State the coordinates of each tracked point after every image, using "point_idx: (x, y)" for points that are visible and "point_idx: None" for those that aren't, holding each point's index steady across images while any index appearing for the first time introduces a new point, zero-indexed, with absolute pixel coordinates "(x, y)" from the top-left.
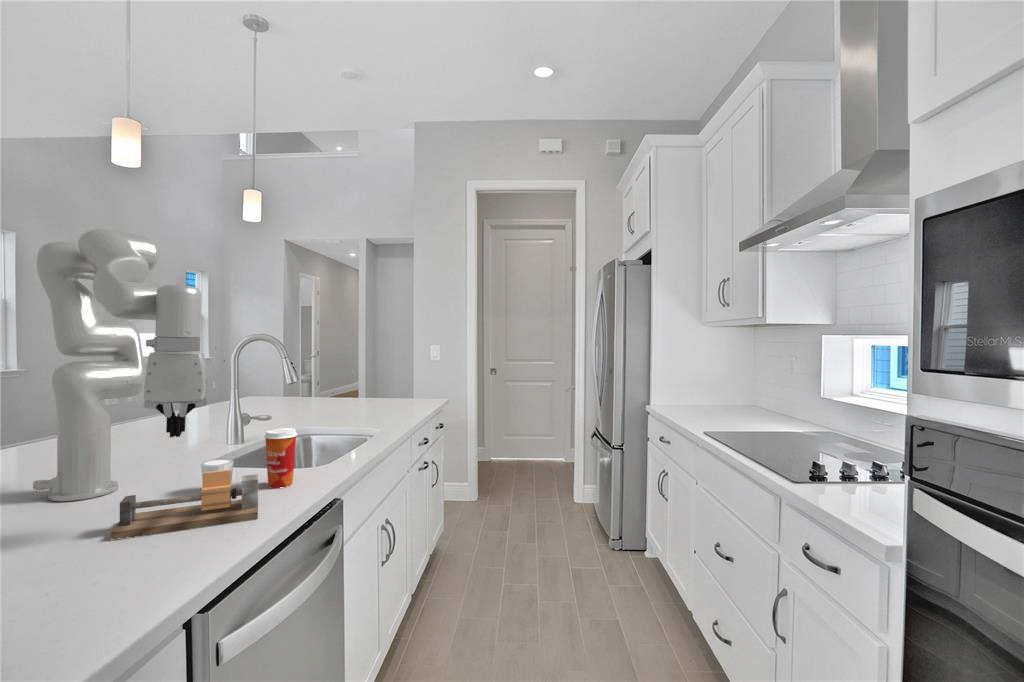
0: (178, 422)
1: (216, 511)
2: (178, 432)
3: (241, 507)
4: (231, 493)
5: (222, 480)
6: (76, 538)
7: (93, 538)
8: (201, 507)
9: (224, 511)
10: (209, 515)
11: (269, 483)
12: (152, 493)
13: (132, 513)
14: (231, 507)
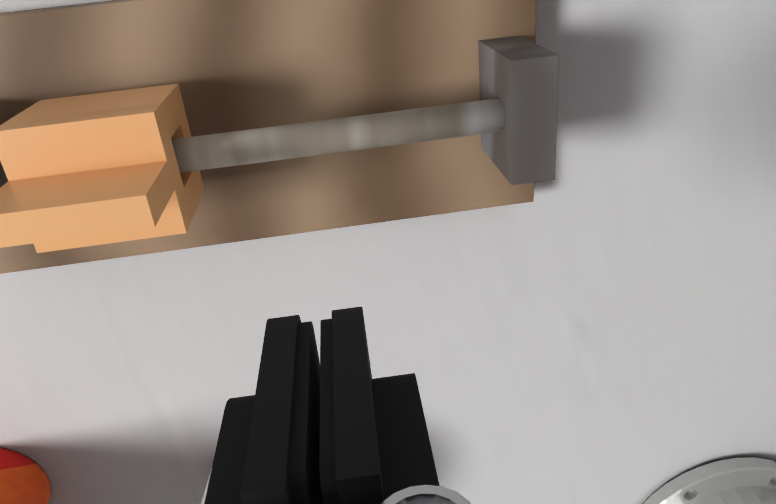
0: (264, 432)
1: None
2: (271, 339)
3: None
4: None
5: (41, 186)
6: (657, 43)
7: (596, 17)
8: (174, 87)
9: None
10: (135, 56)
11: (27, 475)
12: (499, 483)
13: (490, 96)
14: None
